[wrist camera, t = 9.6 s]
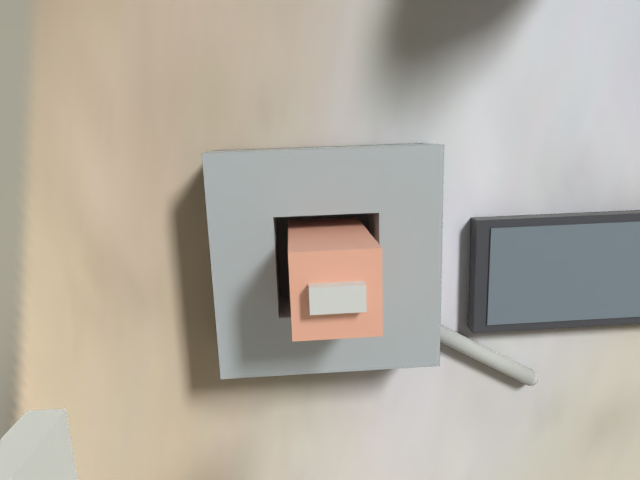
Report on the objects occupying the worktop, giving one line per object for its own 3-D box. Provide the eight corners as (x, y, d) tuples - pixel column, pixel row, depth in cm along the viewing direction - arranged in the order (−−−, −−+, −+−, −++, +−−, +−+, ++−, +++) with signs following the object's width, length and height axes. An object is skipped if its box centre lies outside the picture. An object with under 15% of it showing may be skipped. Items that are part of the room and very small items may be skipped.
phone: (471, 217, 30) (478, 220, 29) (693, 207, 30) (708, 210, 29) (467, 326, 31) (474, 333, 30) (680, 314, 32) (693, 321, 31)
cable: (410, 325, 31) (414, 331, 30) (418, 311, 31) (422, 317, 30) (528, 383, 32) (535, 391, 31) (536, 370, 32) (543, 378, 31)
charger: (288, 220, 28) (287, 256, 20) (356, 216, 29) (384, 251, 20) (291, 286, 29) (292, 347, 21) (358, 282, 30) (385, 341, 21)
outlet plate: (213, 150, 28) (201, 153, 24) (422, 143, 29) (443, 144, 25) (229, 347, 30) (220, 379, 27) (420, 336, 31) (439, 365, 27)
